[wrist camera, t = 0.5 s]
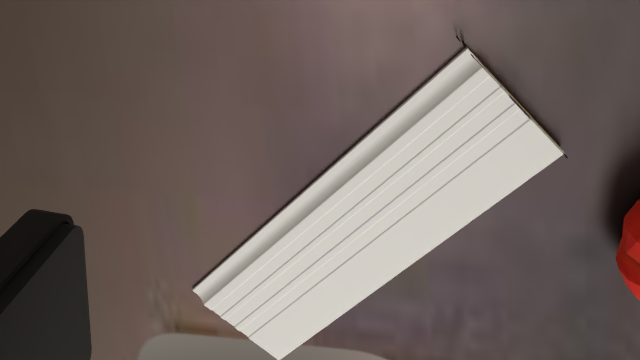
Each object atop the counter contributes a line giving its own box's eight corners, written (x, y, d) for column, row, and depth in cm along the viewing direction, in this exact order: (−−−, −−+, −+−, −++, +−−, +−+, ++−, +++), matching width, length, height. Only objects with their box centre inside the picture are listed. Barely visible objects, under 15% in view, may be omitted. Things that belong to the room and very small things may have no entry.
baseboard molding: (182, 274, 52) (281, 348, 55) (172, 295, 50) (277, 371, 53) (452, 28, 40) (559, 143, 43) (457, 40, 37) (571, 161, 40)
